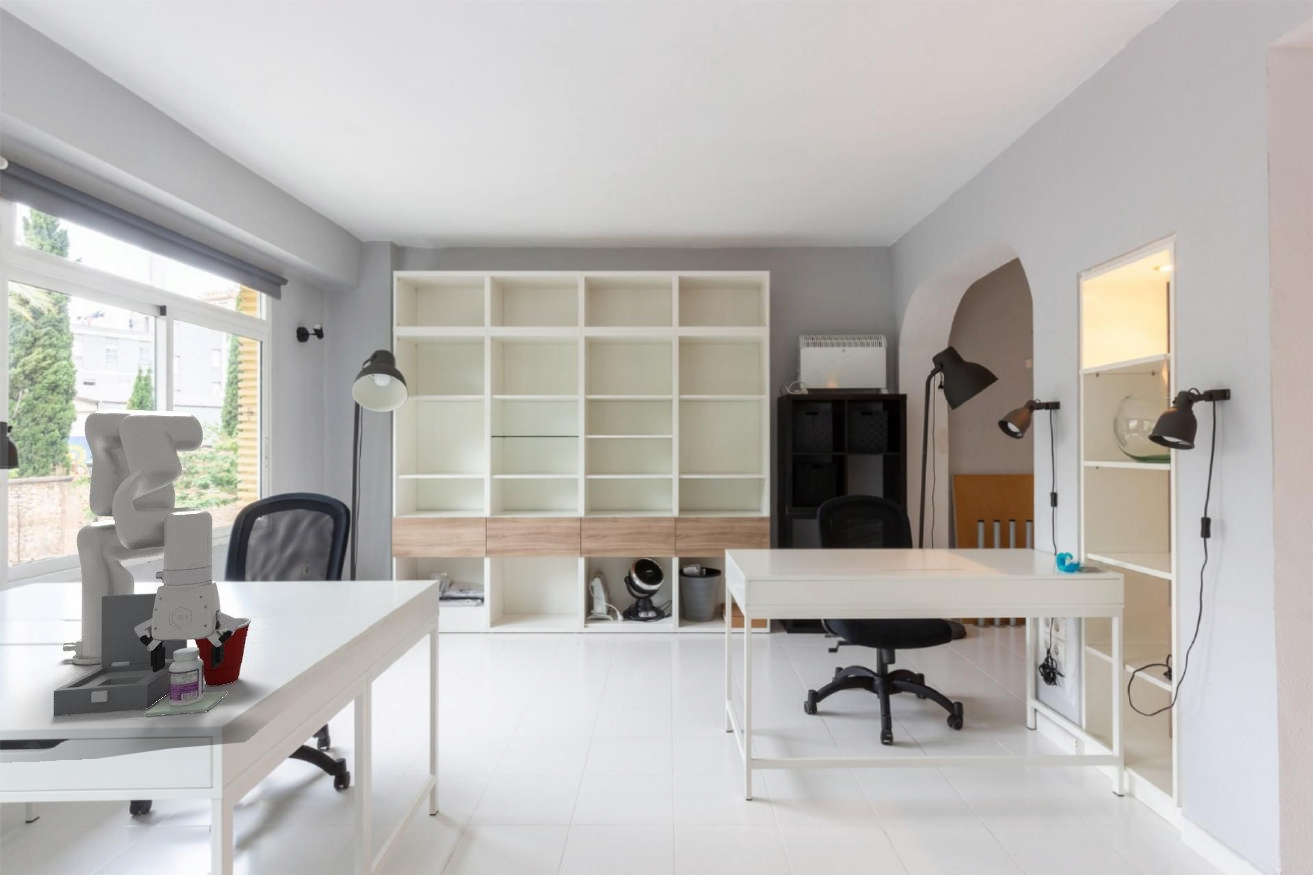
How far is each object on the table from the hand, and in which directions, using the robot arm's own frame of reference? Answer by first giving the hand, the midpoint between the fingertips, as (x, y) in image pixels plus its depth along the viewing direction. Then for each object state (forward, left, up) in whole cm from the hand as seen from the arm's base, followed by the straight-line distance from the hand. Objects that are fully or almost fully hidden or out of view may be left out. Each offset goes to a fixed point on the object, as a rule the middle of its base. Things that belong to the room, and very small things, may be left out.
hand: (187, 668), depth 127 cm
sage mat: (0, 0, -7) cm, 7 cm away
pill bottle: (0, 0, -6) cm, 7 cm away
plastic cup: (0, +13, -7) cm, 15 cm away
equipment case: (-14, +6, -7) cm, 17 cm away
